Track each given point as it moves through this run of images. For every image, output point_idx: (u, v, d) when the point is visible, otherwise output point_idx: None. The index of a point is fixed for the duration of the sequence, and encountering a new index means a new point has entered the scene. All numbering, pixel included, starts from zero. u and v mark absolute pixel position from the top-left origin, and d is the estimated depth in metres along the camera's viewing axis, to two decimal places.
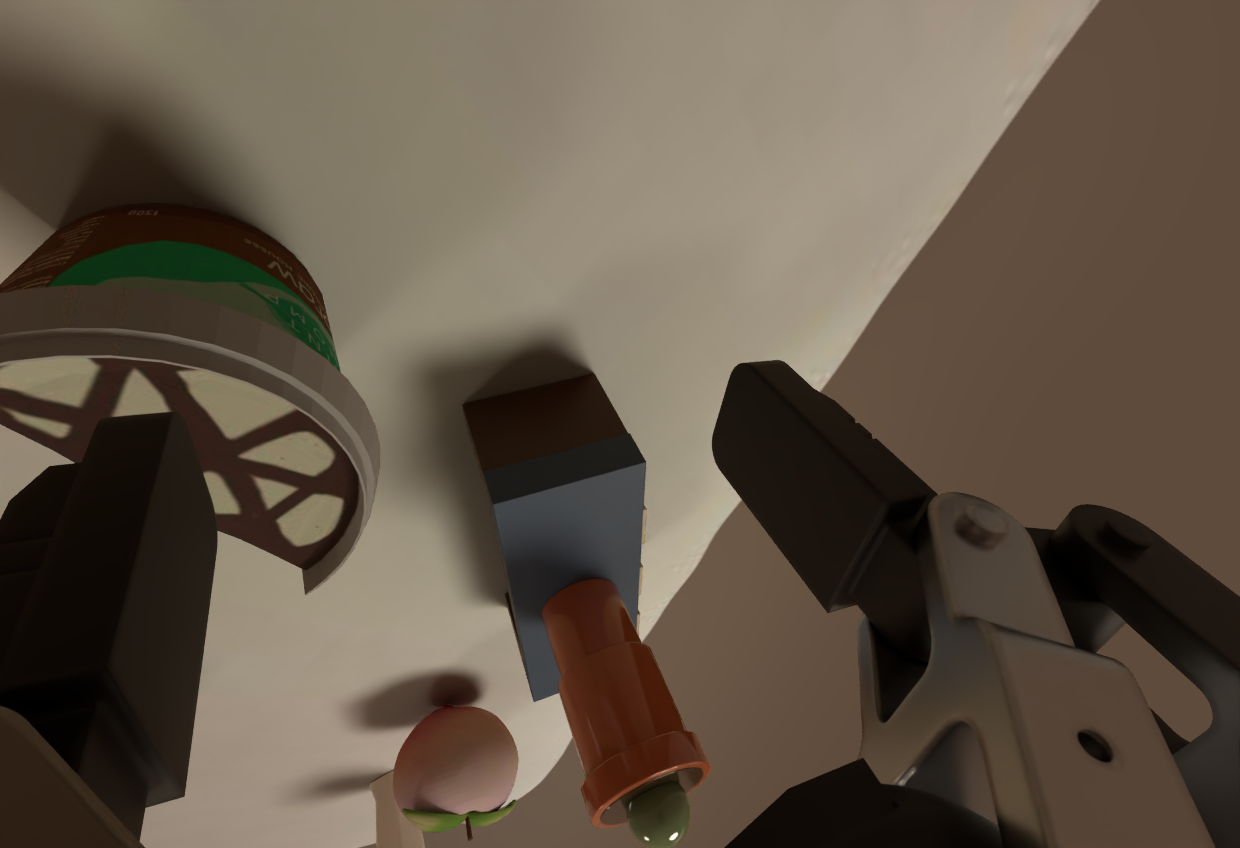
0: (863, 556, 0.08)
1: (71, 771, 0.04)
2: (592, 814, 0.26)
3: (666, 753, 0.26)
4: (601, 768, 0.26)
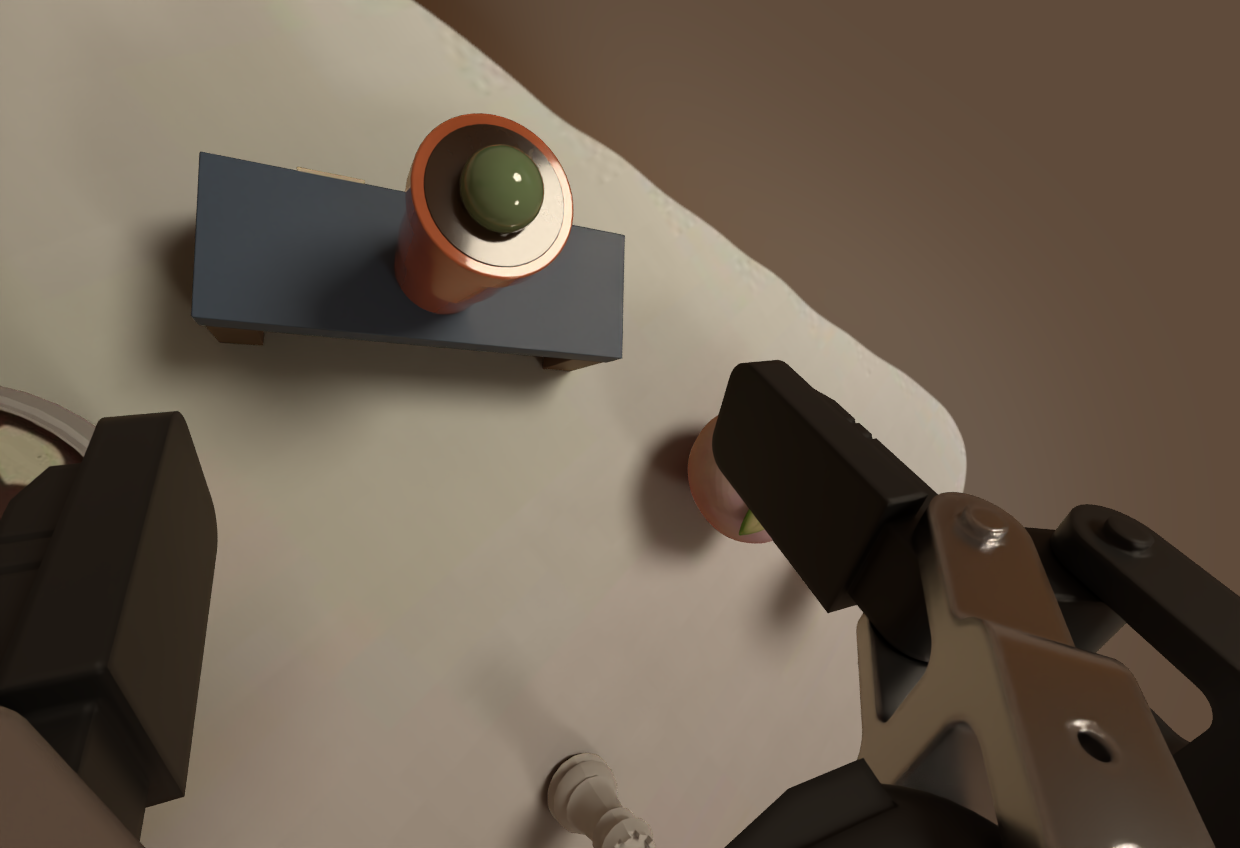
0: (863, 556, 0.08)
1: (71, 771, 0.04)
2: (471, 272, 0.21)
3: (412, 164, 0.21)
4: (426, 251, 0.21)
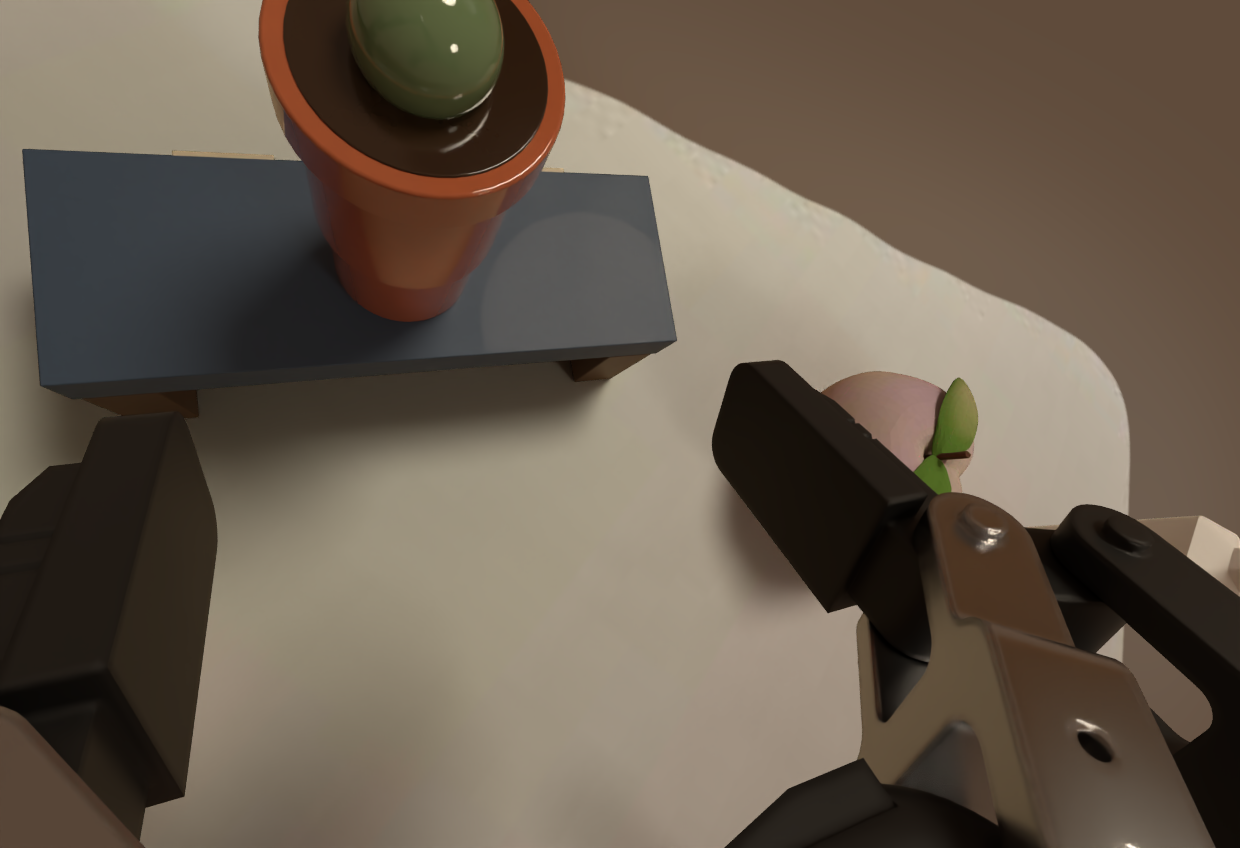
0: (863, 556, 0.08)
1: (72, 771, 0.04)
2: (401, 193, 0.12)
3: None
4: (322, 180, 0.12)
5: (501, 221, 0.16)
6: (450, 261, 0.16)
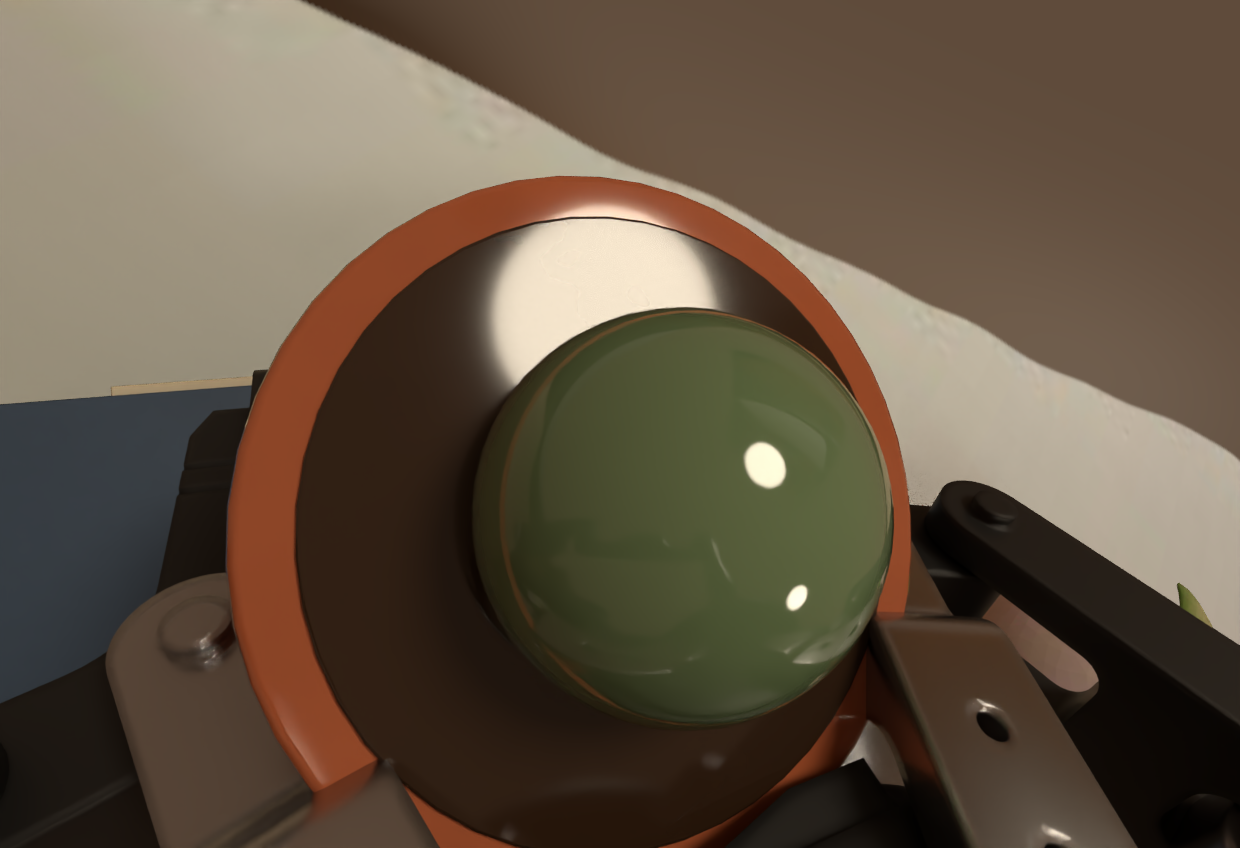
0: None
1: None
2: None
3: None
4: None
5: None
6: None
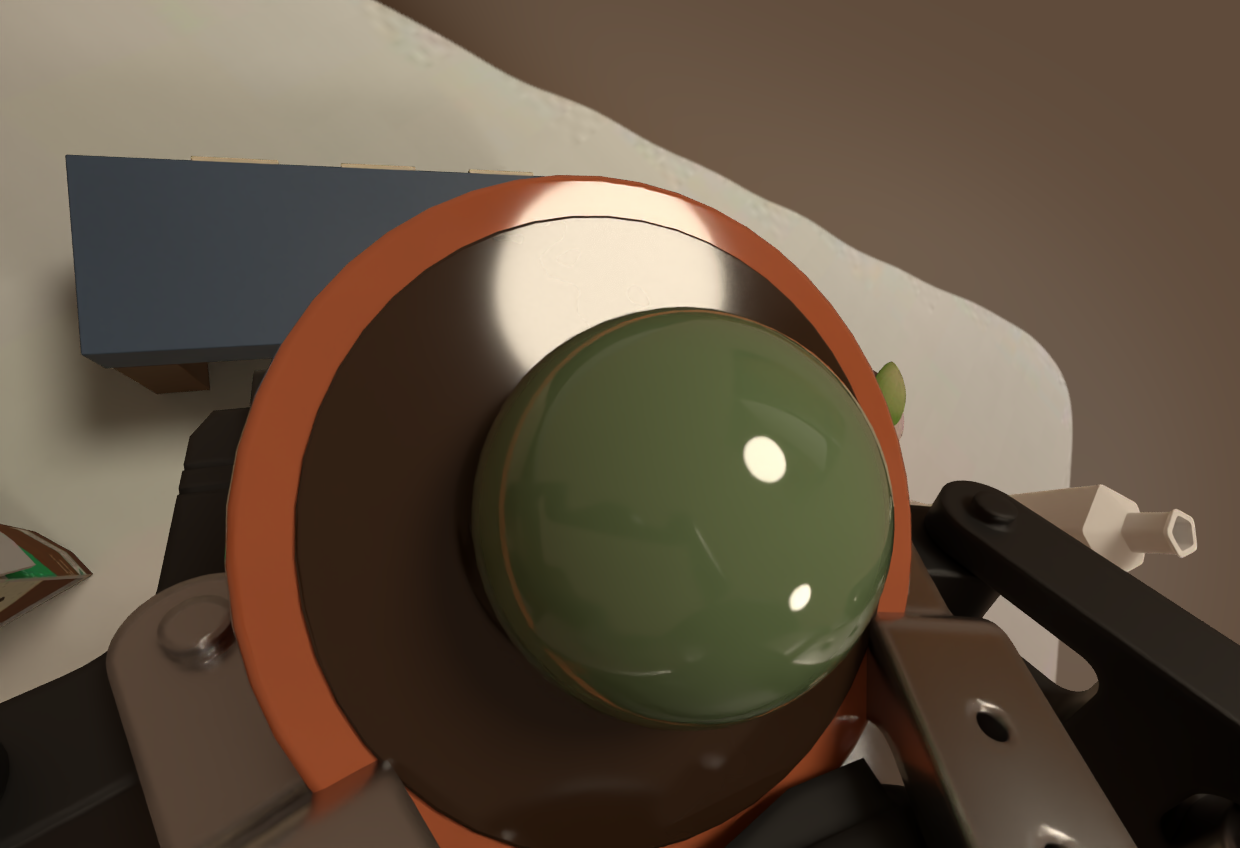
0: None
1: None
2: None
3: None
4: None
5: None
6: None
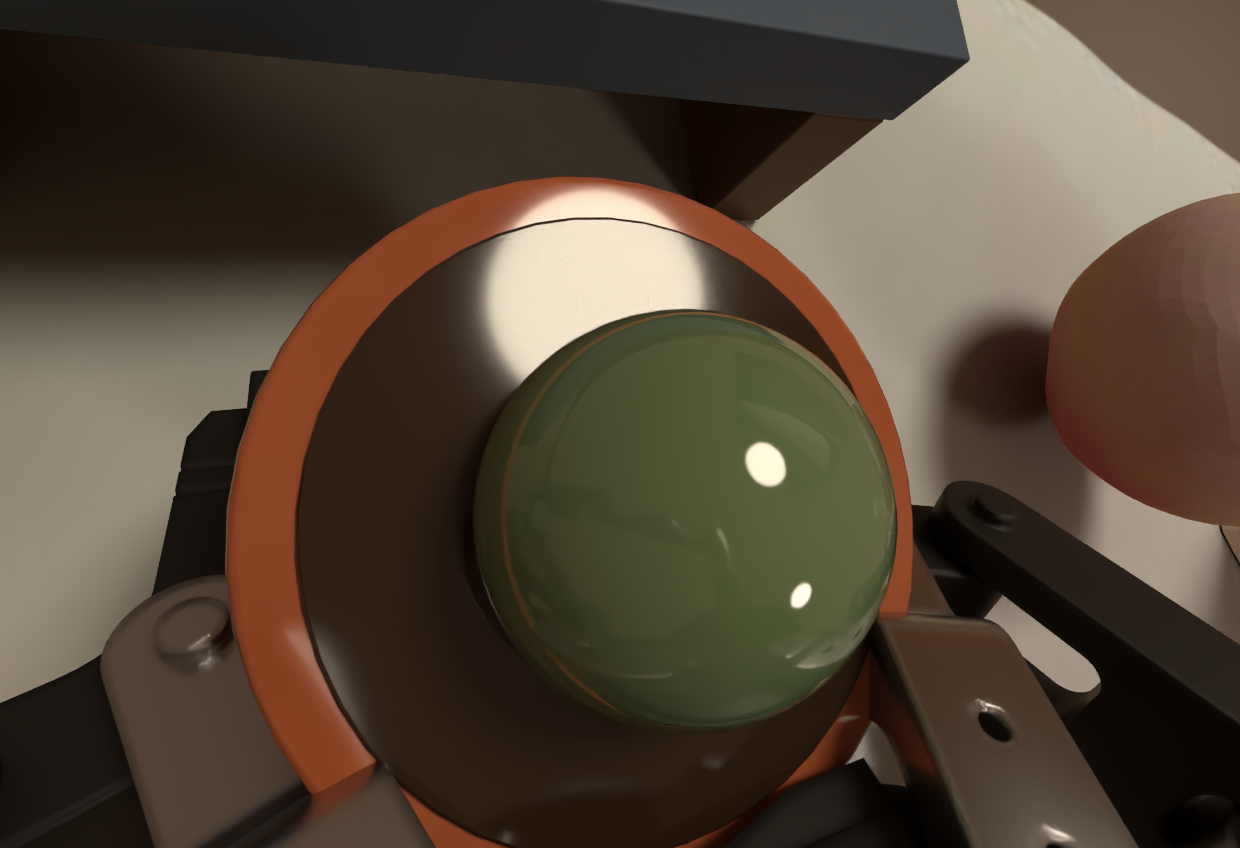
0: None
1: None
2: None
3: None
4: None
5: None
6: None
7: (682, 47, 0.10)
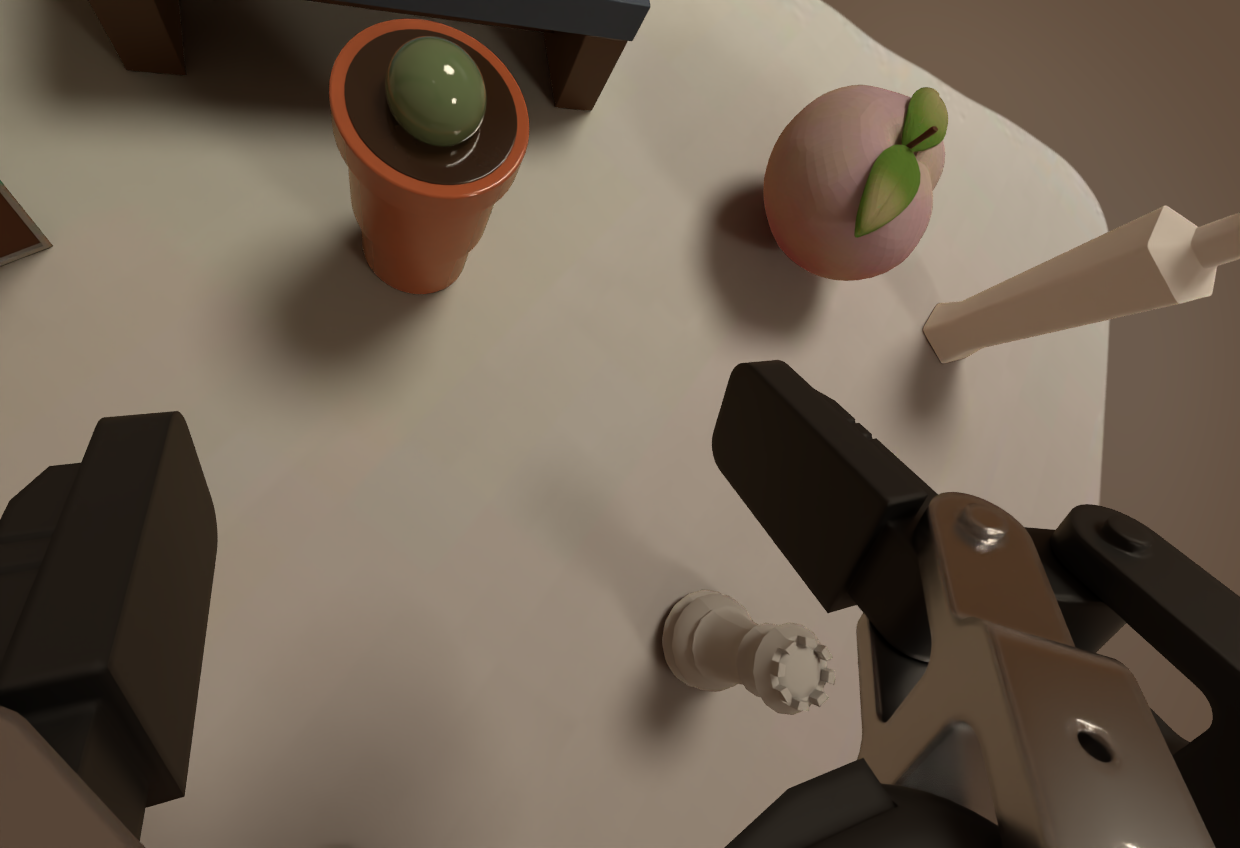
0: (863, 556, 0.08)
1: (71, 771, 0.04)
2: (419, 195, 0.18)
3: None
4: (366, 186, 0.18)
5: (488, 215, 0.22)
6: (451, 244, 0.22)
7: None
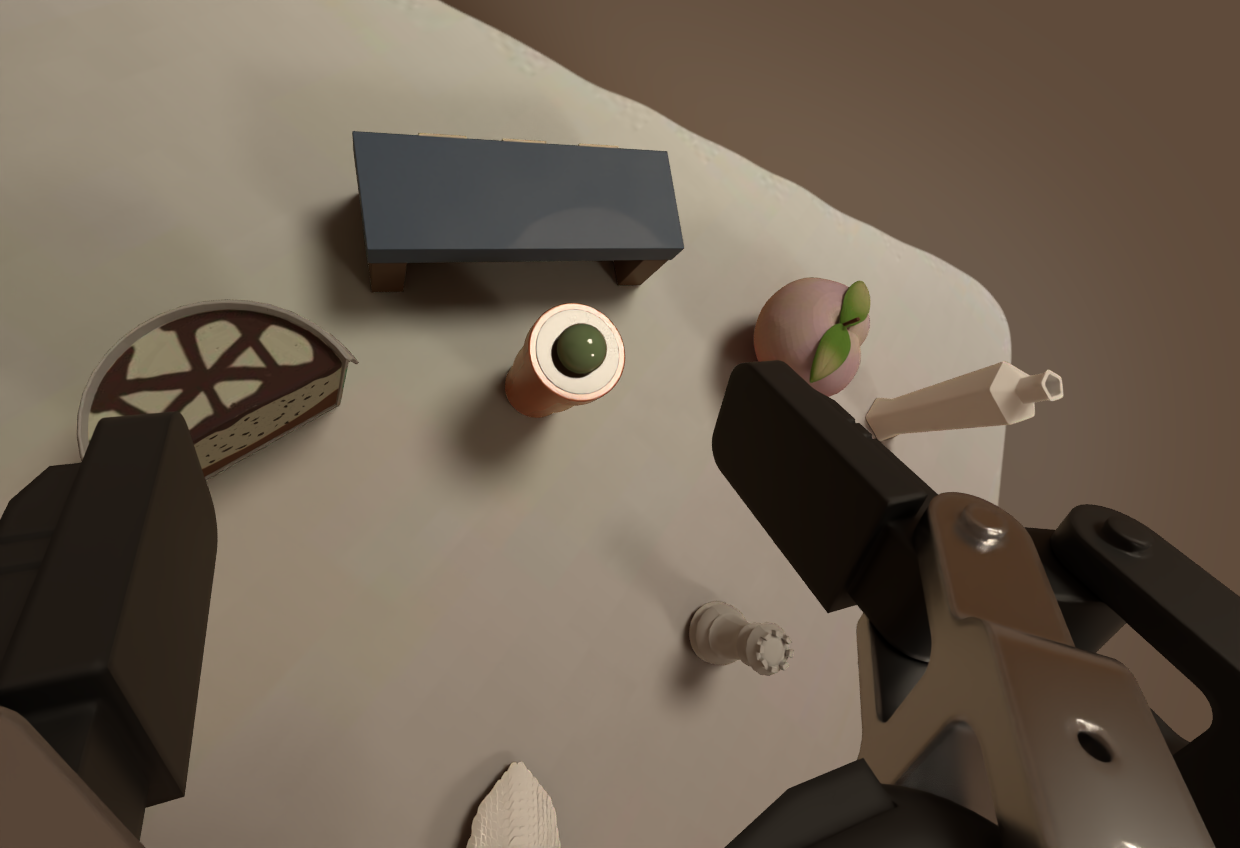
0: (863, 556, 0.08)
1: (71, 771, 0.04)
2: (572, 400, 0.34)
3: (526, 344, 0.34)
4: (541, 392, 0.35)
5: None
6: None
7: (597, 253, 0.40)
